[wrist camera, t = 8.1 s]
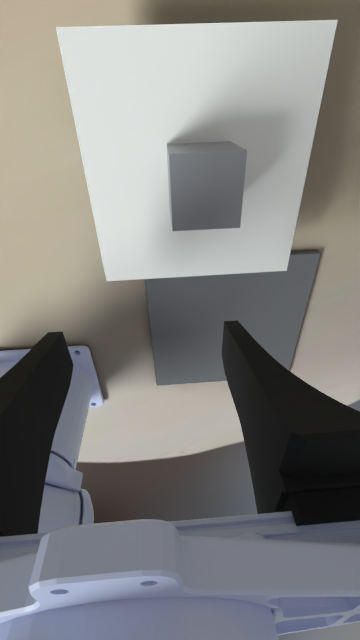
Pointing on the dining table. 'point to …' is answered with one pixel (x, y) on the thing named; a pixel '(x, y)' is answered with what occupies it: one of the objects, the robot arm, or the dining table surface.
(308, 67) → the lid
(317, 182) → the dining table surface
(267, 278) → the mat
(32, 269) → the dining table surface
